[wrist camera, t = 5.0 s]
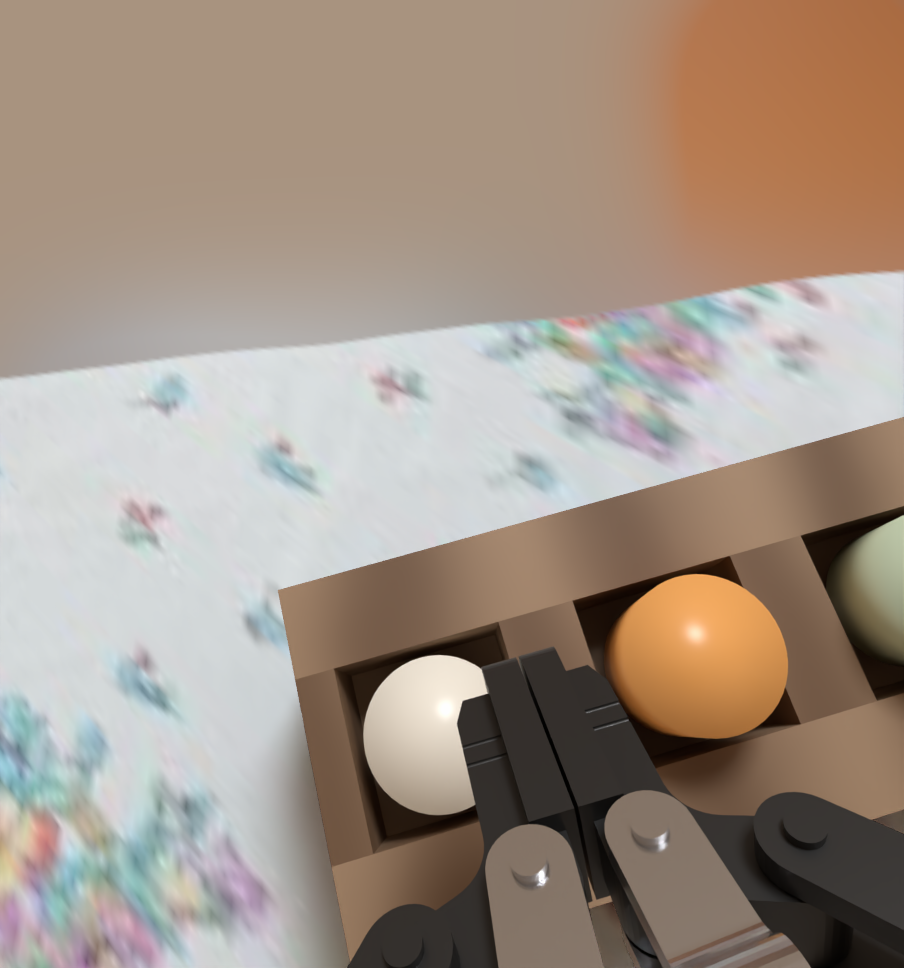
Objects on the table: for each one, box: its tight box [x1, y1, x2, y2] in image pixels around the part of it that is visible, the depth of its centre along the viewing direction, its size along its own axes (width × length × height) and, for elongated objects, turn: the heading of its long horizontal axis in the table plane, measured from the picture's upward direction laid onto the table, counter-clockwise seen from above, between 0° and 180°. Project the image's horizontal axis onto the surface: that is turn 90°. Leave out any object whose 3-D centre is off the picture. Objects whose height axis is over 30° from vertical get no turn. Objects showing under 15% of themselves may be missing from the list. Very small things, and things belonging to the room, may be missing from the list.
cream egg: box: [363, 655, 488, 815], centre depth 20 cm, size 4×4×3 cm
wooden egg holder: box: [278, 417, 904, 962], centre depth 23 cm, size 21×10×9 cm, turn 106°
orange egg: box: [604, 574, 788, 739], centre depth 19 cm, size 4×4×3 cm
